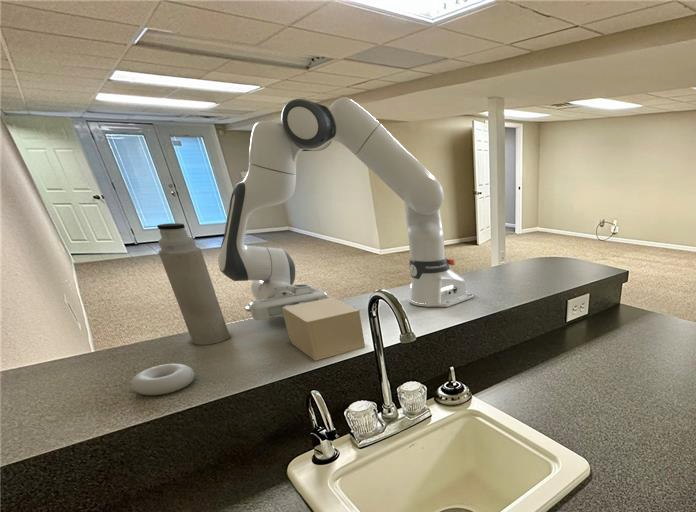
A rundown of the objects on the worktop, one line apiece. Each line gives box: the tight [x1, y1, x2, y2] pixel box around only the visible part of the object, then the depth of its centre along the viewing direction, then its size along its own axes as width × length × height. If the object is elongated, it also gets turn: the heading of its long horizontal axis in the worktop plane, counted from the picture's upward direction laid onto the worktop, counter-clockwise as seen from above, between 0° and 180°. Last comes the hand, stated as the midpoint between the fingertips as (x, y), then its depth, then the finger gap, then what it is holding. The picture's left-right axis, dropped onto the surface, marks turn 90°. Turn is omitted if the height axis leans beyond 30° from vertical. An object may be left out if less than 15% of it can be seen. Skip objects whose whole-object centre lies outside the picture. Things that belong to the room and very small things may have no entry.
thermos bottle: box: [156, 222, 230, 346], centre depth 98 cm, size 8×8×28 cm
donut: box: [130, 363, 195, 396], centre depth 82 cm, size 10×3×10 cm
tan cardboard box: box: [282, 297, 366, 362], centre depth 101 cm, size 15×13×10 cm
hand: (301, 311), depth 109 cm, fingers closed, pressing on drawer
